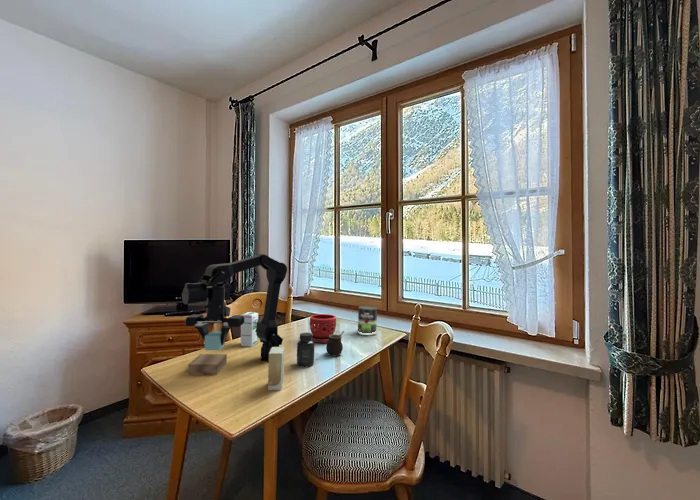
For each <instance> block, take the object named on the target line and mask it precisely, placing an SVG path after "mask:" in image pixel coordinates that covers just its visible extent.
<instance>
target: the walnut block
mask: <svg viewBox="0 0 700 500" xmlns="http://www.w3.org/2000/svg"><path fill="white" fill-rule="evenodd" d="M227 357H228V354H227V353H226V354H224V353H223V354H222V353H221V354H220V353H219V354H217V353H214V354H213V353H199V354H198V355H197V356H196V357H195V358H194V359H192V361H190V362H189V363H188V365H187V366H188V368H187V374H188V375H192V376H193V375H194V376H195V375H197V376H198V375H200V376H201V375H204V376H205V375H207V376H208V375H209V376H211V375H212V376H213V375H214V376H216V375H219V374H220V371H222V370H223V369H224V368H225V366H226V365H227V363H228V362H227V361H228V360H227V359H228V358H227Z"/></svg>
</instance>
